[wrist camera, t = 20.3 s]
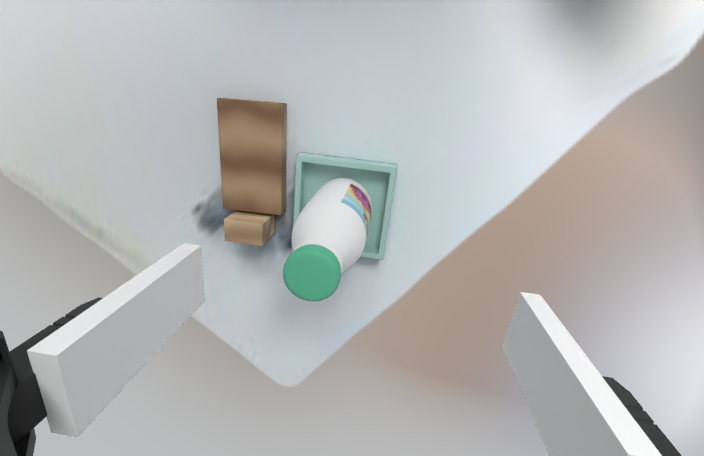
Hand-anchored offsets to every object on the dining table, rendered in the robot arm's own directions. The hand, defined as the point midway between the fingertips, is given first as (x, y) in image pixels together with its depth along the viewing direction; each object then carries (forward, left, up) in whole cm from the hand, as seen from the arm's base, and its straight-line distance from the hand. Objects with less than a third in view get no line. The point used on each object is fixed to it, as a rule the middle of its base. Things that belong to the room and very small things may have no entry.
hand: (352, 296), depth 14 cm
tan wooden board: (+1, -16, -32) cm, 36 cm away
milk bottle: (+6, -4, -31) cm, 32 cm away
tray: (+6, -4, -32) cm, 33 cm away
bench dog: (+10, -16, -32) cm, 37 cm away
